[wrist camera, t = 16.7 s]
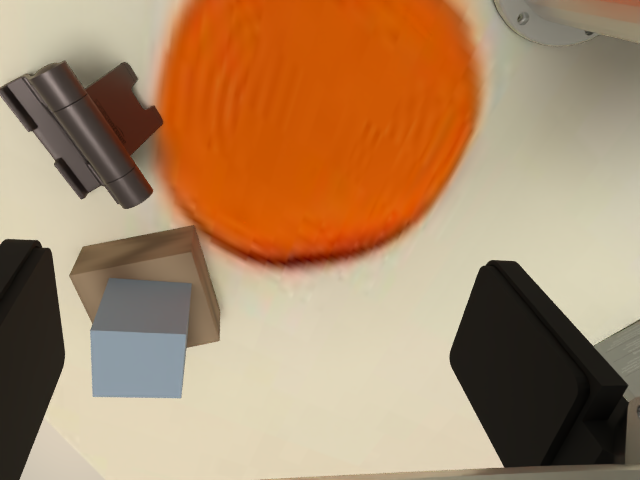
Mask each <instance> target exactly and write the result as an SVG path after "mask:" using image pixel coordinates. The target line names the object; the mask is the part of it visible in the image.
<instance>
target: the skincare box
mask: <svg viewBox="0 0 640 480" xmlns="http://www.w3.org/2000/svg"><path fill="white" fill-rule="evenodd" d="M594 348H595V349H596V350H597V351H598V352H599V353H600V354H601V355H602V356H603V358H604V359H605V360H606V361H607V362H608V363H609V364H610V365H611V366H612V367H613V369H614V370H615V371H616V372H617V373H618V374H619V375H620V376H621V377H622V378H623V380H624V381H625V382H626V383H627V384H628V385H629V386H628V387H627V389H626V391H625V392H624V394H623V396H624V397H625V398H626V399H627V401H628V402H630V401H631V400H632V399H634V398H635V397H640V321H638V322H636V323H634V324H633V325H631V326H629V327H627V328H626V329H624V330H622V331H620V332H618V333H616V334H614V335H612V336H611V337H609V338H607V339H605V340H603V341H602V342H600V343H598V344H596V345H595V346H594Z"/></svg>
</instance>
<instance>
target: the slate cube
mask: <svg viewBox="0 0 640 480" xmlns="http://www.w3.org/2000/svg"><path fill="white" fill-rule="evenodd" d="M191 287H192V283H179V282H163V281H148V280H133V279H117V278H109V280H108V283H107V286H106V288H105V291H104V294H103V297H102V299H101V302H100V305H99V308H98V311H97V313H96V316H95V319H94V322H93V324H92V327H91V330H90V335H91V361H92V388H93V397H139V398H181V394H182V385H183V376H184V366H185V357H186V348H187V337H188V324H189V312H190V299H191Z"/></svg>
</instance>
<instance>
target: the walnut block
mask: <svg viewBox="0 0 640 480" xmlns="http://www.w3.org/2000/svg"><path fill="white" fill-rule="evenodd" d="M69 276H70V278H71V280H72V283H73V285H74V287H75V289H76V291H77V293H78V295H79V297H80V299H81V301H82V303H83V305H84V307H85V309H86V311H87V313H88V316H89V318H90V320H91V322H92V324H93V322H94V319H95V316H96V313H97V311H98V308H99V305H100V302H101V299H102V297H103V294H104V291H105V288H106V286H107V283H108V280H109V278H117V279H133V280H148V281H163V282H179V283H192V287H191V299H190V312H189V324H188V337H187V348H188V347H193V346H197V345H202V344H207V343H212V342H217V341H219V338H220V309H219V305H218V302H217V299H216V295H215V292H214V289H213V285H212V282H211V279H210V276H209V272H208V269H207V266H206V262H205V259H204V256H203V253H202V249H201V246H200V243H199V239H198V236H197V233H196V230H195V226H188V227H183V228H178V229H173V230H167V231H162V232H157V233H152V234H147V235H141V236H136V237H131V238H126V239H121V240H115V241H110V242H105V243H100V244H95V245H89V246H84V247H83V248H82V250H81V252H80V254H79V256H78V258H77V260H76V263H75V265H74V267H73V269H72V271H71V273H70V275H69Z"/></svg>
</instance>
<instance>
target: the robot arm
mask: <svg viewBox="0 0 640 480" xmlns="http://www.w3.org/2000/svg"><path fill="white" fill-rule="evenodd" d="M494 2H495V5H496V7H497V10H498V12H499V13H500V15H501V16H502V18H503V19H504V21H505V22H506V24H507V25H508V26H509V27H510V28H511V29H513V30H514V31H515V32H516V33H517V34H518V35H520V36H522V37H524V38H526V39H527V40H529V41H532V42H536V43H538V44H541V45H547V46H554V47H559V46H571V45H575V44H578V43H582V42H586V41H588V40H590V39H592V38H594V37H596V36H598V35H600V34H602V35H606V36H610V37H614V38H619V39H623V40H627V41H631V42H635V43H639V44H640V0H494ZM519 14H520V18H519V20H517V18H518V16H519ZM64 359H65V349H64V341H63V333H62V326H61V318H60V311H59V303H58V295H57V288H56V280H55V273H54V265H53V258H52V252H51V250H50V249H49V248H42V246H41V243H40V242H39V241H38V240H17V239H5V240H4V241H3V242H2V243H1V245H0V480H19V479H20V477H21V474H22V472H23V469H24V467H25V464H26V461H27V459H28V456H29V454H30V451H31V449H32V446H33V444H34V441H35V438H36V436H37V433H38V431H39V428H40V425H41V423H42V420H43V418H44V415H45V413H46V410H47V408H48V405H49V402H50V400H51V397H52V395H53V392H54V390H55V387H56V385H57V382H58V379H59V377H60V374H61V372H62V369H63V365H64ZM450 364H451V367H452V369H453V371H454V373H455V375H456V377H457V379H458V381H459V382H460V384H461V386H462V388H463V390H464V392H465V394H466V396H467V398H468V399H469V401H470V403H471V405H472V407H473V409H474V411H475V413H476V415H477V416H478V418H479V420H480V422H481V424H482V426H483V428H484V430H485V432H486V433H487V435H488V437H489V439H490V441H491V443H492V445H493V447H494V449H495V451H496V452H497V454H498V456H499V458H500V460H501V462H502V464H503V466H504V468H486V469H463V470H441V471H419V472H399V473H379V474H359V475H339V476H320V477H300V478H281V479H262V480H640V397H635V398H634V399H632V400H631V401H630V402H628V401H627V400H626V399H625V398H624V397H623V394H624V392H625V391H626V389H627V387H628V386H629V385H628V384H627V383H626V382H625V381H624V380H623V378H622V377H621V376H620V375H619V374H618V373H617V372H616V371H615V370H614V369H613V367H612V366H611V365H610V364H609V363H608V362H607V361H606V360H605V359H604V358H603V356H602V355H601V354H600V353H599V352H598V351H597V350H596V349H595V348H594V347H593V345H592V344H591V343H590V342H589V341H588V340H587V339H586V338H585V337H584V336H583V334H582V333H581V332H580V331H579V330H578V329H577V328H576V327H575V326H574V325H573V323H572V322H571V321H570V320H569V319H568V318H567V317H566V316H565V315H564V314H563V312H562V311H561V310H560V309H559V308H558V307H557V306H556V305H555V304H554V303H553V301H552V300H551V299H550V298H549V297H548V296H547V295H546V294H545V293H544V292H543V290H542V289H541V288H540V287H539V286H538V285H537V284H536V283H535V282H534V281H533V279H532V278H531V277H530V276H529V275H528V274H527V273H526V272H525V271H524V270H523V268H522V267H521V266H520V265H519V264H518V263H517V262H515V261H500V260H491V261H489V262H488V263H487V264H486V266H482V267H481V268H480V270H479V272H478V275H477V277H476V280H475V283H474V286H473V289H472V291H471V294H470V297H469V300H468V303H467V306H466V308H465V311H464V314H463V317H462V320H461V323H460V325H459V328H458V331H457V334H456V337H455V339H454V342H453V345H452V348H451V351H450Z"/></svg>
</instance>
